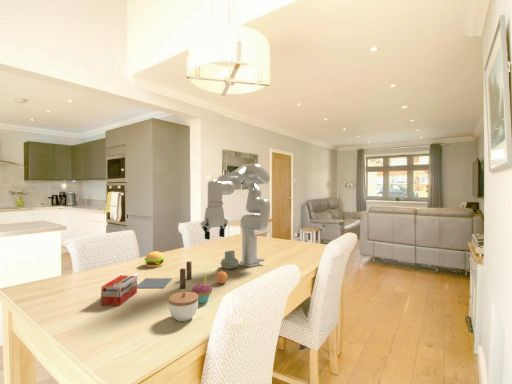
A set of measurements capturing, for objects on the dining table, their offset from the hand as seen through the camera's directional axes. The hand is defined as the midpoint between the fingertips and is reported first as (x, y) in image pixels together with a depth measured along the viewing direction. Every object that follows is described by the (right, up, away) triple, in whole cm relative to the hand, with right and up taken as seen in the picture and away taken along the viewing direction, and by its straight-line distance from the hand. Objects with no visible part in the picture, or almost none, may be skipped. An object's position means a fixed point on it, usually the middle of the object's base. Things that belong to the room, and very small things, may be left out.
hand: (214, 237), depth 140 cm
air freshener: (+5, -23, +25) cm, 34 cm away
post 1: (-14, -23, -9) cm, 28 cm away
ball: (+4, -20, -2) cm, 20 cm away
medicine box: (-38, -23, -22) cm, 49 cm away
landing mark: (-30, -23, -3) cm, 38 cm away
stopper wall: (-42, -22, -3) cm, 48 cm away
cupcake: (-2, -23, -24) cm, 33 cm away
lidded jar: (-5, -23, -39) cm, 46 cm away
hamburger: (-42, -22, +29) cm, 56 cm away
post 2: (-14, -23, +4) cm, 27 cm away
